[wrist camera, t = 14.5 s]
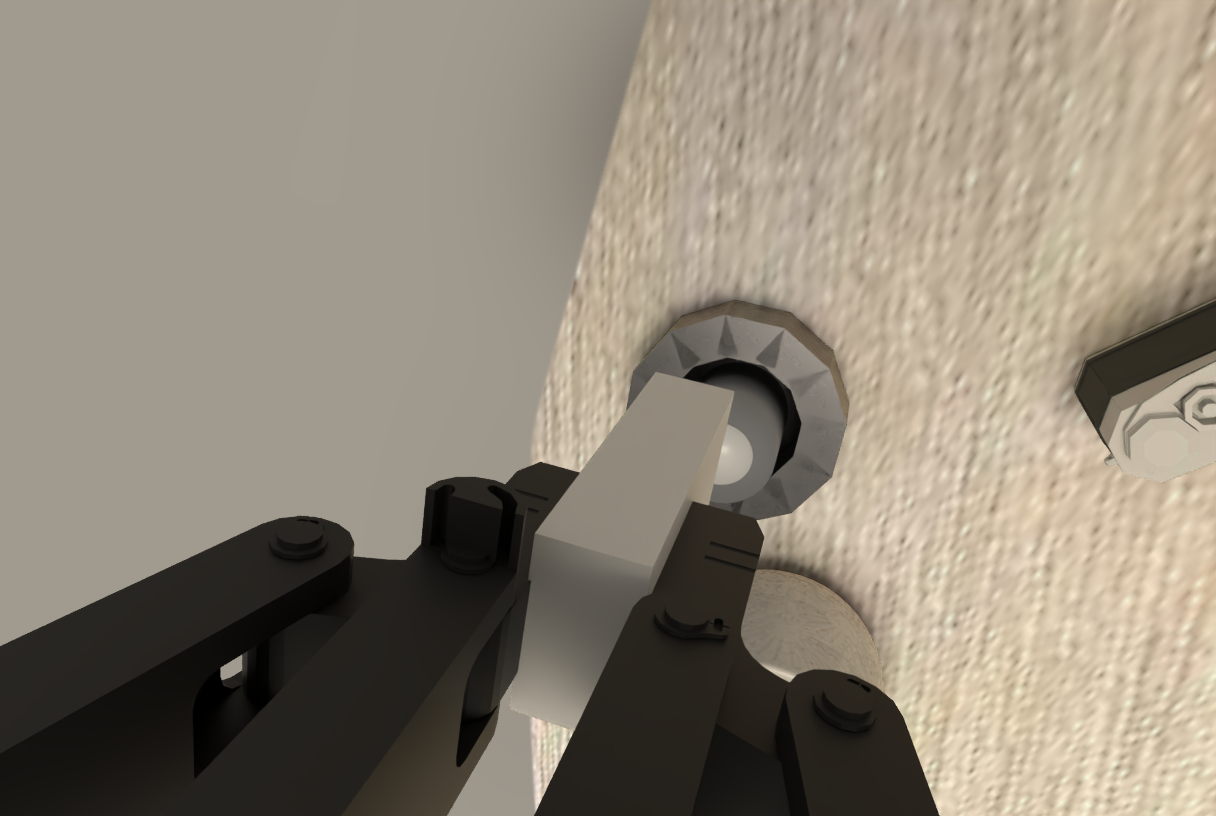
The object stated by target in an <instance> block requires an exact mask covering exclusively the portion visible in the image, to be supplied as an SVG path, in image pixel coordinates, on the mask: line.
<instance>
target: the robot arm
mask: <svg viewBox="0 0 1216 816" xmlns="http://www.w3.org/2000/svg"><path fill="white" fill-rule="evenodd" d="M734 392H735V391H732V390H728V389H724V388H720V387H716V386H712V385H707V384H703V383H699V382H695V381H691V380H687V379H683V378H679V377H675V376H671V375H667V374H663V373H659V372H655V374H654V375H653V376H652V378H651V379H650V380H649V382H648V383H647V384H646V386H645V387H644V388H643V390H642V391H641V392H640V394H639V395H638V396H637V398H636V399H635V400H634V402H633V403H632V404H631V406H630V407H629V408H628V410H627V411H626V412H625V414H624V415H623V416H622V418H621V419H620V420H619V422H618V423H617V424H616V426H615V427H614V428H613V430H612V431H611V432H610V434H609V435H608V436H607V438H606V439H605V440H604V442H603V443H602V444H601V446H600V447H599V448H598V450H597V451H596V452H595V454H594V455H593V456H592V458H591V459H590V460H589V462H588V463H587V464H586V466H585V467H584V468H583V470H582V471H581V472H580V473H579V472H576V471H572V470H568V469H565V468H561V467H557V466H554V465H550V464H546V463H543V462H539V463H537V464H534V465H532V466H529V467H527V468H524V469H522V470H519V471H517V472H516V473H515V474H514V475H513V477H512V478H511V479H510V480H509V481H508V482H507V483H506V484H503V483H500V482H498V481H495V480H490V479H485V478H479V477H454V478H450V479H445V480H441V481H438V482H436V483H434V484H432V485H431V486H429V487H427V488H426V496H425V507H424V518H423V529H422V540H421V545H420V546H419V547H418V548H417V549H416V550H415V551H414V552H413V553H412V554H411V555H410V556H409V557H408V558H407V559H406V560H386V559H375V558H365V557H354V556H353V555H354V541H353V539H352V537H351V535H350V532H348V531H347V530H346V529H344V528H343V527H342V526H340V525H339V524H337V523H334V522H331V521H328V520H325V519H322V518H317V517H309V516H296V517H288V518H279V519H276V520H273V521H270V522H267V523H264V524H261V525H259V526H257V527H255V528H252V529H250V530H248V531H246V532H244V533H242V534H240V535H237V536H235V537H233V538H231V539H229V540H227V541H224V542H222V543H220V544H218V545H216V546H214V547H212V548H209V549H207V550H205V551H203V552H201V553H199V554H197V555H194V556H192V557H190V558H188V559H186V560H184V561H182V562H179V563H177V564H175V565H173V566H171V567H169V568H167V569H165V570H162V571H160V572H158V573H156V574H154V575H152V576H149V577H147V578H145V579H143V580H141V581H139V582H137V583H135V584H132V585H130V586H128V587H126V588H124V589H122V590H120V591H117V592H115V593H113V594H111V595H109V596H107V597H105V598H103V599H100V600H98V601H96V602H94V603H92V604H90V605H87V606H85V607H83V608H81V609H79V610H77V611H75V612H73V613H70V614H68V615H66V616H64V617H62V618H60V619H58V620H55V621H53V622H51V623H49V624H47V625H45V626H42V627H40V628H38V629H36V630H34V631H32V632H30V633H27V634H25V635H23V636H21V637H19V638H17V639H15V640H12V641H10V642H8V643H6V644H4V645H2V646H0V816H447V815H448V813H449V811H450V809H451V808H452V806H453V804H454V803H455V801H456V799H457V797H458V796H459V794H460V792H461V790H462V789H463V787H464V785H465V784H466V782H467V780H468V778H469V777H470V775H471V773H472V771H473V770H474V768H475V766H476V765H477V763H478V761H479V760H480V758H481V756H482V754H483V752H484V751H485V749H486V747H487V746H488V744H489V742H490V741H491V739H492V737H493V735H494V732H495V728H496V725H497V720H498V713H499V707H500V700H501V699H502V697H503V695H504V694H505V692H506V690H507V689H508V687H509V685H510V684H511V682H512V680H513V686H512V692H511V699H510V706H509V709H510V710H513V711H516V712H520V713H522V714H525V715H528V716H531V717H534V718H537V719H540V720H543V721H546V722H549V723H552V724H555V725H558V726H561V727H564V728H567V729H570V730H573V731H574V733H573V735H572V737H571V739H570V741H569V743H568V745H567V747H566V749H565V752H564V754H563V756H562V758H561V760H560V762H559V764H558V766H557V768H556V771H555V773H554V775H553V777H552V779H551V781H550V783H549V785H548V788H547V790H546V792H545V794H544V796H543V798H542V800H541V802H540V804H539V807H538V809H537V811H536V813H535V815H534V816H939V813H938V810H937V808H936V805H935V802H934V800H933V797H932V794H931V791H930V789H929V786H928V783H927V780H926V778H925V775H924V772H923V769H922V767H921V764H920V761H919V759H918V756H917V753H916V750H915V748H914V745H913V742H912V739H911V737H910V734H909V731H908V729H907V726H906V723H905V720H904V718H903V716H902V714H901V713H900V711H899V709H898V708H897V706H896V705H895V703H894V701H893V700H891V699H890V698H889V697H888V696H887V695H886V694H884V693H883V692H882V691H881V690H880V689H879V688H878V687H876V686H874V685H872V684H870V683H868V682H867V681H865V680H863V679H861V678H859V677H857V676H854V675H851V674H847V673H844V672H840V671H836V670H822V669H813V670H809V671H806V672H803V673H800V674H797V675H796V676H795V677H794V678H793V679H792V680H791V681H790V682H788V681H786V680H784V679H782V678H780V677H779V676H777V675H775V674H774V673H772V672H771V671H769V670H768V669H766V668H765V667H763V666H762V665H761V664H760V663H759V662H758V661H757V660H756V659H754V658H753V657H752V655H751V654H750V653H749V651H748V650H747V648H746V647H745V645H744V643H743V640H742V637H741V626H742V622H743V618H744V614H745V610H746V607H747V603H748V599H749V595H750V591H751V587H752V583H753V579H754V575H755V572H756V568H757V564H758V560H759V556H760V552H761V548H762V544H763V540H764V536H763V534H762V531H761V529H760V527H759V525H758V523H757V521H756V519H755V518H753V517H749V516H745V515H742V514H738V513H734V512H731V511H727V510H723V509H720V508H716V507H712V506H709V502H710V498H711V493H712V489H713V485H714V480H715V476H716V471H717V467H718V462H719V458H720V454H721V449H722V445H723V440H724V436H725V432H726V427H727V423H728V418H729V414H730V410H731V405H732V401H733V396H734ZM240 655H242V671H241V672H239V673H237V674H236V675H234V676H232V677H230V678H228V679H225V680H221V677H220V667H222V666H224V665H225V664H227V663H229V662H230V661H232V660H234V659H235V658H237V657H239V656H240Z"/></svg>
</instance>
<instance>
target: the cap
mask: <svg viewBox="0 0 1216 816" xmlns="http://www.w3.org/2000/svg"><path fill="white" fill-rule="evenodd" d="M698 382H699V383H703V384H707V385H712V386H716V387H720V388H724V389H728V390H732V391H735V392H734V396H733V401H732V405H731V410H730V414H729V418H728V423H727V427H726V432H725V436H724V440H723V445H722V449H721V454H720V458H719V462H718V467H717V471H716V476H715V480H714V485H713V489H712V493H711V498H710V501H711V502H716V503H733V502H738V501H742V500H745V499H747V498H749V497H751V496H753V495H754V494H756V493H757V492H758V491H760V490H761V489H762V488H763V487H764V486H765V484H766V483H767V482H768V480H769V478H770V476H771V474H772V472H773V469H774V466H775V462H776V458H777V455H778V451H779V448H780V444H781V441H782V437H783V433H784V430H785V426H786V423H787V418H788V402H787V398H786V395H785V393H784V390H783V389H782V387H781V385H780V384H779V383H778V381H777V380H776V379H775V378H774V377H773V376H772V375H771V374H770V373H768V372H767V371H765V370H764V369H762V368H760V367H758V366H755V365H752V364H749V363H743V362H732V363H726V364H722V365H719V366H717V367H715V368H713V369H711V370H710V371H708V372H707V373H706V374H705V375H704V376H702V378H701V379H700V380H699V381H698Z"/></svg>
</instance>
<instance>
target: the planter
mask: <svg viewBox="0 0 1216 816" xmlns="http://www.w3.org/2000/svg"><path fill="white" fill-rule="evenodd" d="M741 637H742V640H743V643H744V645H745V647H746V648H747V650H748V651H749V653H750V654H751V655H752V657H753V658H754V659H756V660H757V661H758V662H759V663H760V664H761V665H762V666H763V667H765V668H766V669H768V670H769V671H771V672H772V673H774V674H775V675H777V676H779V677H780V678H782V679H784V680H786V681H788V682H790V681H791V680H792V679H793V678H794V677H795V676H796V675H797V674H800V673H803V672H806V671H809V670H813V669H822V670H836V671H840V672H844V673H847V674H851V675H854V676H857V677H859V678H861V679H863V680H865V681H867V682H868V683H870V684H872V685H874V686H876V687H878V688H879V689H880V690H881V691H882V692H883V693H884V694H885V687H884V681H883V675H882V669H881V665H880V660H879V657H878V654H877V650H876V648H875V645H874V643H873V640H872V638H871V636H870V634H869V632H868V630H867V628H866V627H865V625H864V623H863V622H862V620H861V619H860V618H859V616H858V615H857V614H856V612H855V611H854V610H853V609H852V608H851V607H850V606H849V605H848V604H847V603H846V602H845V601H844V600H843V599H842V598H841V597H839V596H838V595H837V594H835V593H834V592H833V591H831V590H830V589H828V588H827V587H825V586H823V585H822V584H820V583H818V582H816V581H814V580H811V579H809V578H806V577H804V576H801V575H798V574H794V573H790V572H785V571H779V570H765V569H760V570H756V572H755V575H754V579H753V583H752V587H751V591H750V595H749V599H748V603H747V607H746V610H745V614H744V618H743V622H742V626H741Z"/></svg>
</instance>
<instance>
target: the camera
mask: <svg viewBox="0 0 1216 816" xmlns="http://www.w3.org/2000/svg"><path fill="white" fill-rule="evenodd" d="M1075 388H1076V389H1075V394H1076V395H1077V397H1078V399H1079V401H1080V403H1081V405H1082V406H1083V408H1084V410H1085V412H1086V413H1087V415H1088V417H1089V419H1090V420H1091V422H1092V424H1093V426H1094V427H1095V429H1096V431H1097V433H1098V434H1099V436H1100V438H1101V440H1102V441H1103V443H1104V444H1105V445H1106V446H1107V448H1108V449H1109V451H1110V452H1111V454H1110V455H1109V456H1108V457H1107V458H1106V459H1105V460H1104V461H1105V464H1106V465H1107V466H1108V467H1117V466H1120V468H1121V469H1122V471H1123V472H1124V474H1127V475H1131V476H1135V477H1139V478H1143V479H1148V480H1152V481H1156V482H1160V483H1164V482H1166V481H1169V480H1171V479H1174V478H1176V477H1179V476H1181V475H1184V474H1186V473H1189V472H1191V471H1194V470H1196V469H1199V468H1202V467H1204V466H1207V465H1209V464H1212V463H1214V462H1216V299H1214V300H1211V301H1209V302H1207V303H1205V304H1203V305H1201V306H1198V307H1196V308H1194V309H1192V310H1190V311H1188V312H1185V313H1183V314H1181V315H1179V316H1177V317H1175V318H1172V319H1170V320H1168V321H1166V322H1164V323H1162V324H1159V325H1157V326H1155V327H1153V328H1151V329H1148V330H1146V331H1144V332H1142V333H1140V334H1138V335H1135V336H1133V337H1131V338H1129V339H1127V340H1125V341H1122V342H1120V343H1118V344H1116V345H1114V346H1112V347H1109V348H1107V349H1105V350H1103V351H1101V352H1099V353H1097V354H1094V355H1092V356H1090V357H1088V358H1086V360H1085V362H1084V365H1083V368H1082V370H1081V373H1080V376H1079V378H1078V381H1077V383H1076V386H1075ZM1118 464H1119V465H1118Z"/></svg>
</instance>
